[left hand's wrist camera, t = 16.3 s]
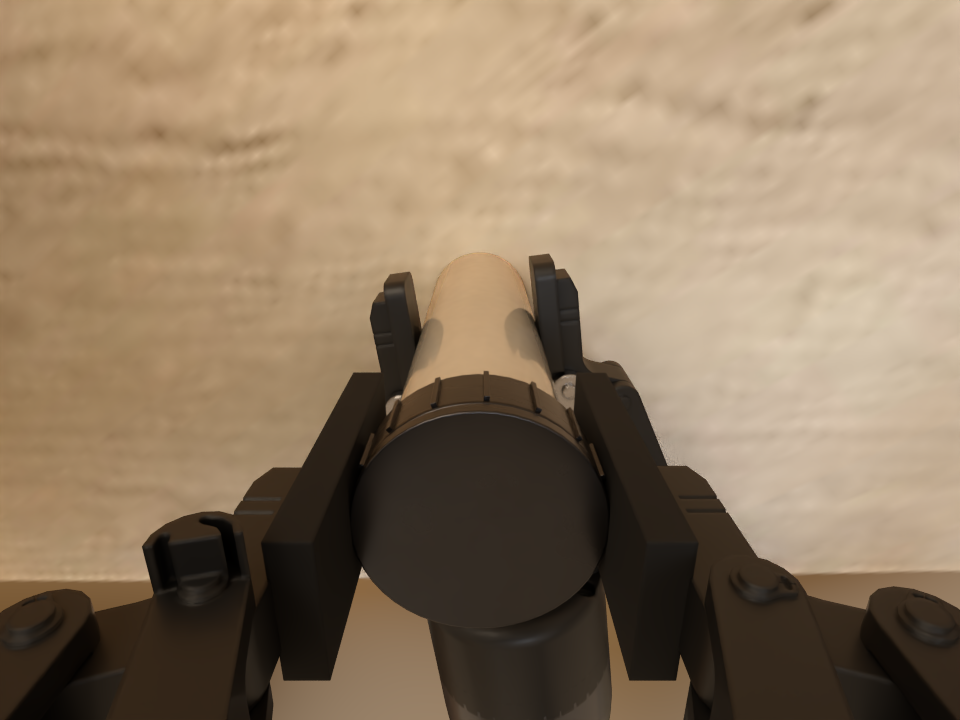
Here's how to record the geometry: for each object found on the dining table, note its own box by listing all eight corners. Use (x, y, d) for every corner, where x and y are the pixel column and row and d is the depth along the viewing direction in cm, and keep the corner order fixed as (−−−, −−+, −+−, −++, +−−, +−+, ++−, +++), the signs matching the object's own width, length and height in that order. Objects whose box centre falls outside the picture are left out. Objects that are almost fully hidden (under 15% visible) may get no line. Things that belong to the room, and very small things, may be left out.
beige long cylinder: (430, 254, 26) (359, 418, 11) (524, 249, 26) (589, 407, 10) (438, 343, 27) (384, 598, 12) (526, 338, 27) (585, 589, 12)
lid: (389, 580, 13) (376, 643, 12) (341, 388, 12) (317, 429, 10) (602, 556, 13) (620, 616, 11) (585, 354, 11) (603, 391, 10)
